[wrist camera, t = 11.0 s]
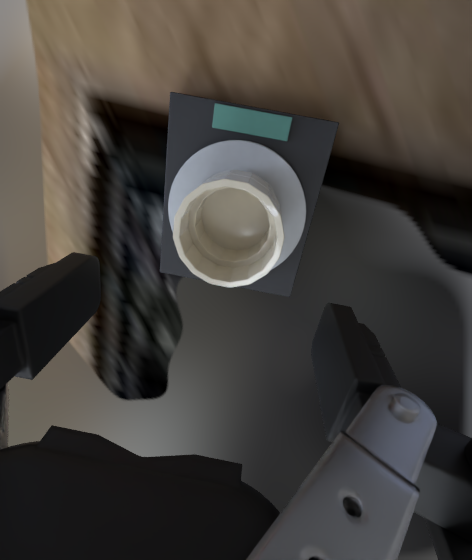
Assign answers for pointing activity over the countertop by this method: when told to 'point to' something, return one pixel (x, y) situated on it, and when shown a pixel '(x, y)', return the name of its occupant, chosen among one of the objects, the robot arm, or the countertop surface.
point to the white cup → (230, 229)
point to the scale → (246, 157)
